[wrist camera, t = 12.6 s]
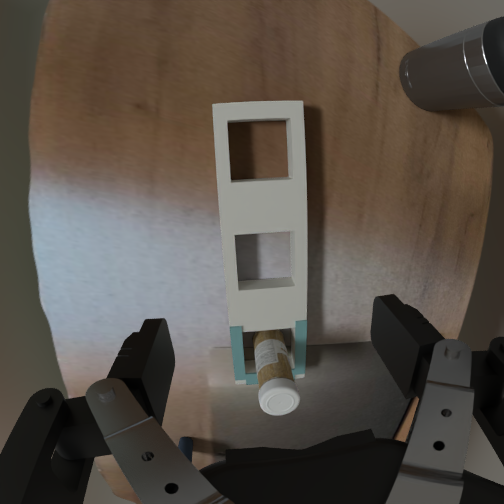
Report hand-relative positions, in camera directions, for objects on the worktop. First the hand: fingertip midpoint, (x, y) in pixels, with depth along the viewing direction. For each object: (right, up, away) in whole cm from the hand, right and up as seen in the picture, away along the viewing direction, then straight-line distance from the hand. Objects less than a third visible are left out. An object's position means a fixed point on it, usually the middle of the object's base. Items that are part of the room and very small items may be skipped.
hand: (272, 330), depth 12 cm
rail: (+1, +3, +29) cm, 30 cm away
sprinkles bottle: (+1, -9, +34) cm, 35 cm away
